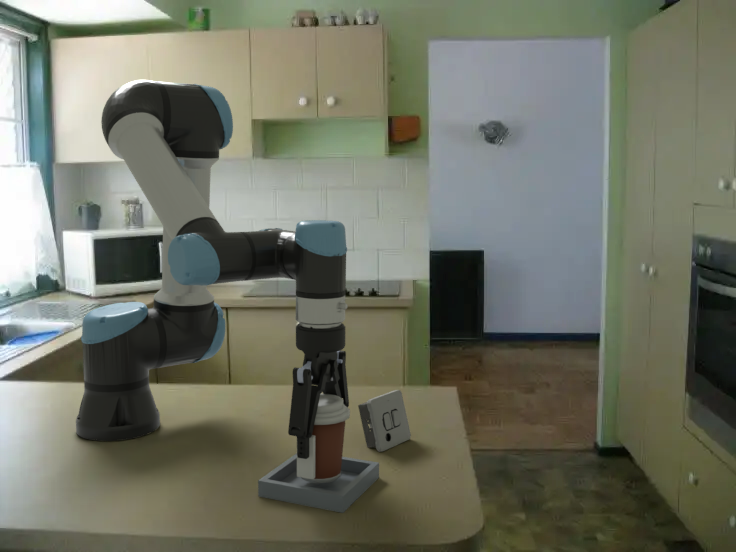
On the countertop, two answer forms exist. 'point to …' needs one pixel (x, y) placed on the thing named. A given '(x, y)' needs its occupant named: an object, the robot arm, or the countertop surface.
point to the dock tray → (319, 485)
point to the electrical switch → (385, 421)
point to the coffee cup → (329, 438)
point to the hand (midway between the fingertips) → (320, 465)
